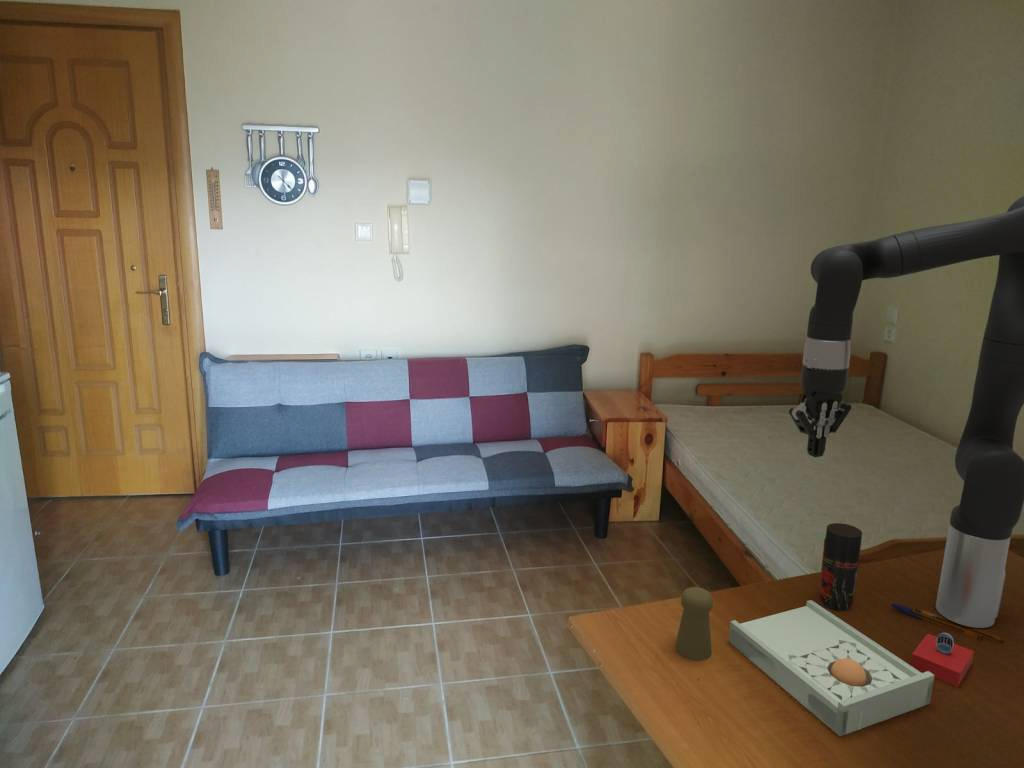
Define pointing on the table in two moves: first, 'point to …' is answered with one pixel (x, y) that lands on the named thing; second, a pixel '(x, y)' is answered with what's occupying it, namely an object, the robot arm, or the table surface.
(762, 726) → the table surface
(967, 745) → the table surface
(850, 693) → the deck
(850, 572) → the deodorant
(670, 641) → the table surface
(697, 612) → the olive pepper shaker
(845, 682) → the ball
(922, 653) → the red slab
